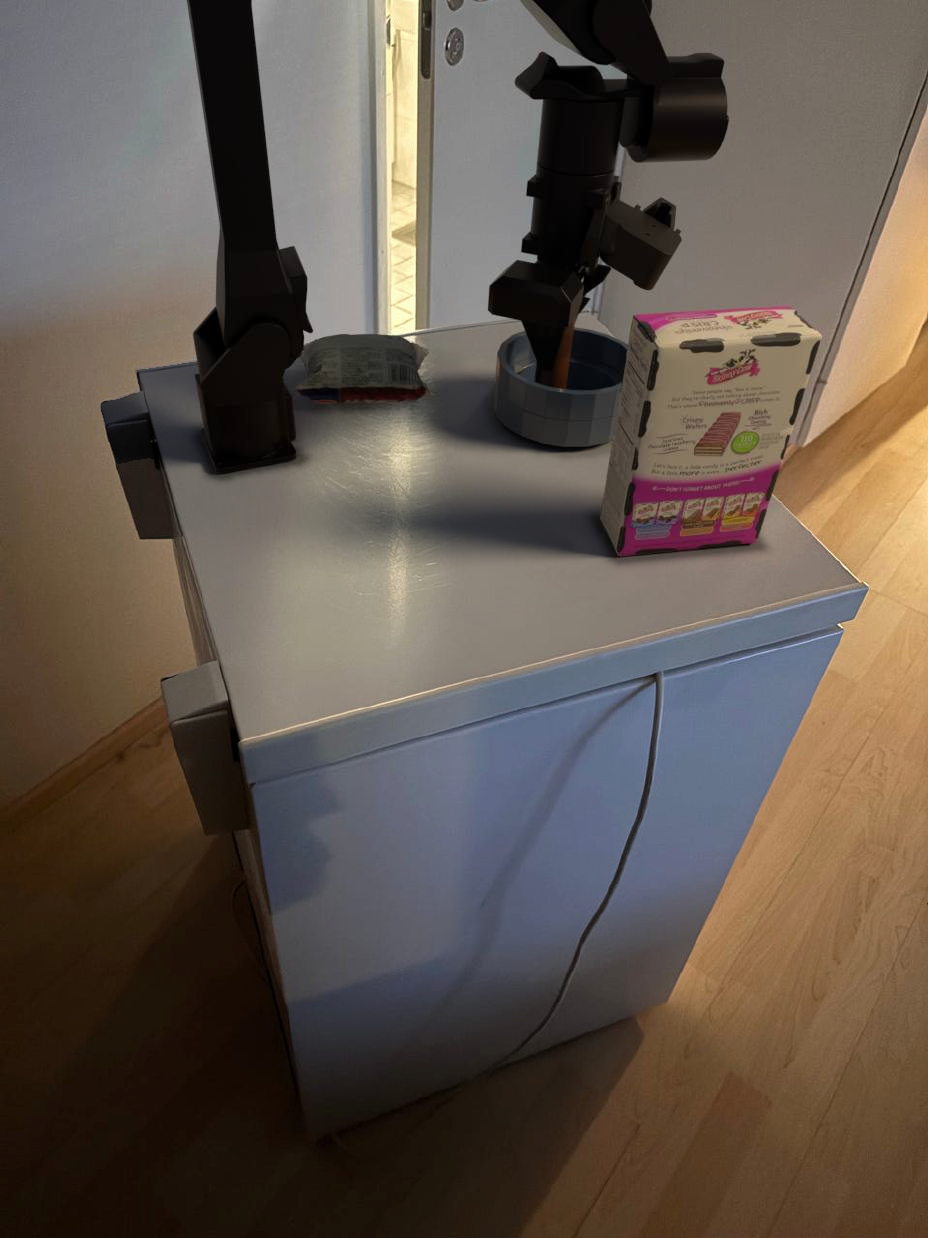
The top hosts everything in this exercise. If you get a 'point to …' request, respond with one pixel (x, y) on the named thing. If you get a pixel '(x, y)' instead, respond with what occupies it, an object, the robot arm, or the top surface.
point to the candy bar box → (703, 426)
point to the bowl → (562, 391)
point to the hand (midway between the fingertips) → (551, 362)
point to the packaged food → (363, 369)
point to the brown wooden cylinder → (558, 363)
